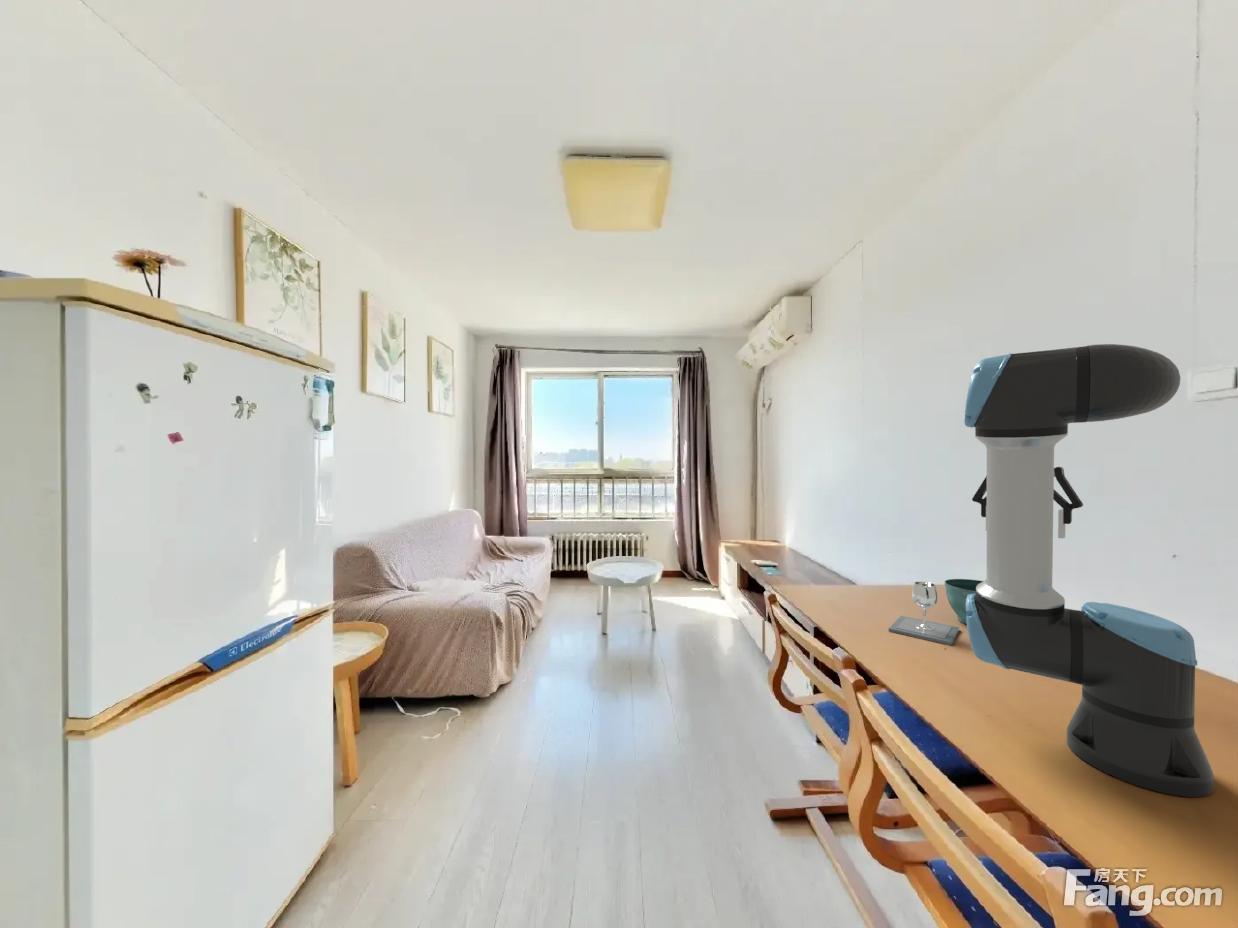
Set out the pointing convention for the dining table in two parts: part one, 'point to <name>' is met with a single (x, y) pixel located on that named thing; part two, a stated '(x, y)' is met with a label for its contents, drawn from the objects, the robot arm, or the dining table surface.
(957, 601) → the flower pot
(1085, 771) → the dining table surface
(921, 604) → the wineglass
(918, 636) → the coaster
